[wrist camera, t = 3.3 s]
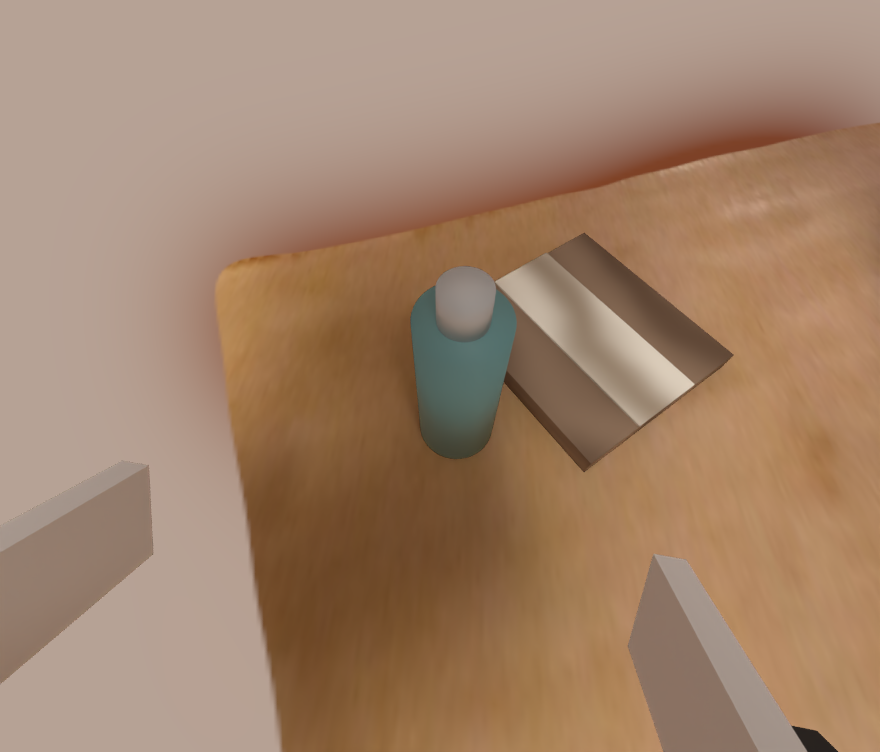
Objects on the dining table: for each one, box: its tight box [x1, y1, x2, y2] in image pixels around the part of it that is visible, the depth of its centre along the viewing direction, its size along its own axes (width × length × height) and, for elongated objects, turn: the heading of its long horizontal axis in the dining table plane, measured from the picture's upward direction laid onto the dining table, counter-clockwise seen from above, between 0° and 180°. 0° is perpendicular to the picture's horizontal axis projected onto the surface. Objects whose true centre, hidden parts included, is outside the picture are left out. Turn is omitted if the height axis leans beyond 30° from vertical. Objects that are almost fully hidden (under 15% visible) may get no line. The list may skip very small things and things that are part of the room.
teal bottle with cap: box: [411, 266, 517, 459], centre depth 24 cm, size 5×5×13 cm
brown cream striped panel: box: [495, 233, 733, 472], centre depth 32 cm, size 13×14×2 cm
